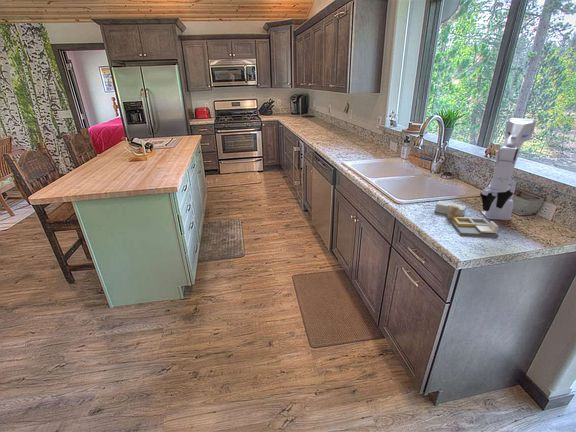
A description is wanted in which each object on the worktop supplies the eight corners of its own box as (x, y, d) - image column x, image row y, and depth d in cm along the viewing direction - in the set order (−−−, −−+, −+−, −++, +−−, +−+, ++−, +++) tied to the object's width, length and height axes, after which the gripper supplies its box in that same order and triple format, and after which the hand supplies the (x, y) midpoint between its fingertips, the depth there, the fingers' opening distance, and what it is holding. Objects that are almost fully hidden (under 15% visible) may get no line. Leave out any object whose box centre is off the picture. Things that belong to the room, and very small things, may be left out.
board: (483, 223, 135) (484, 218, 134) (497, 237, 123) (498, 231, 122) (449, 221, 137) (450, 216, 136) (460, 235, 125) (461, 230, 124)
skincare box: (439, 200, 150) (466, 205, 143) (437, 208, 152) (464, 213, 145) (435, 204, 146) (464, 209, 139) (434, 212, 148) (462, 218, 141)
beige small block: (454, 217, 142) (457, 205, 139) (457, 220, 138) (460, 208, 136) (445, 216, 142) (448, 204, 140) (448, 220, 139) (451, 208, 136)
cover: (490, 227, 128) (492, 221, 126) (496, 233, 123) (498, 226, 122) (475, 226, 129) (477, 220, 127) (480, 232, 124) (482, 225, 123)
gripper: (504, 172, 126) (496, 203, 131) (478, 176, 121) (470, 208, 127) (521, 177, 120) (511, 209, 125) (495, 181, 115) (486, 214, 121)
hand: (492, 209), depth 126 cm, fingers open, 7 cm apart
